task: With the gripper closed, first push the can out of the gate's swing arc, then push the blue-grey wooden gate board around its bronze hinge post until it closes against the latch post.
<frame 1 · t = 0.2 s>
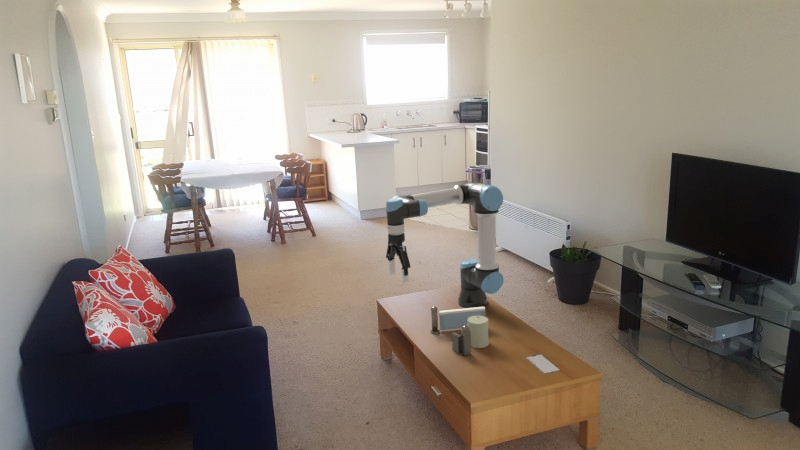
hand: (398, 277, 266), 28 cm above the table, fingers open, 13 cm apart
smartphone: (542, 365, 236), on the table
gate: (462, 318, 272), point 6 cm above the table, hinge at 70.0°
hinge post: (435, 332, 272), on the table
latch post: (466, 353, 249), on the table
can: (478, 343, 258), on the table
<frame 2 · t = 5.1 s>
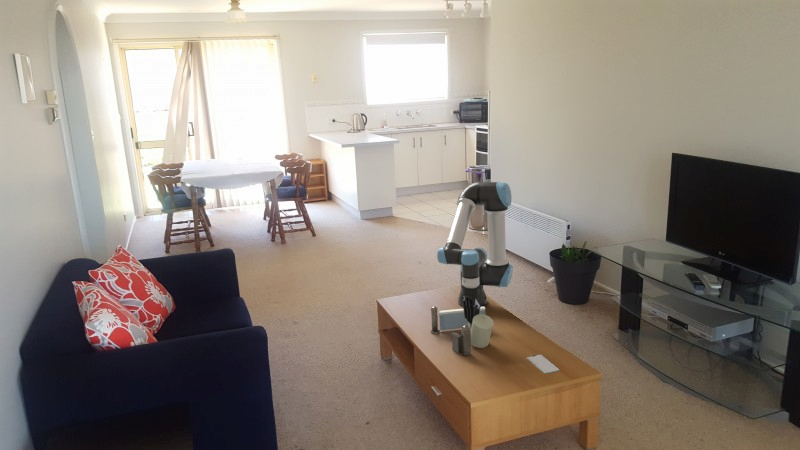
hand: (471, 335, 261), 2 cm above the table, fingers closed
can: (478, 340, 257), point 1 cm above the table, touching gripper, hand
everything else where it was.
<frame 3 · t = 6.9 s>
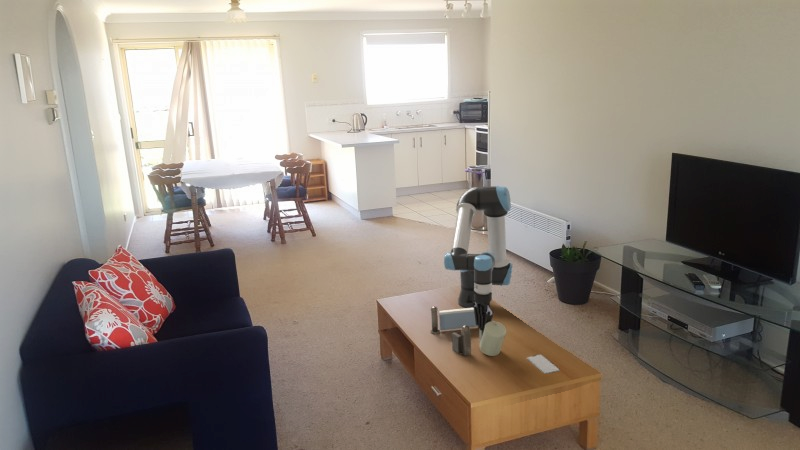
hand: (482, 342, 253), 3 cm above the table, fingers closed
can: (489, 348, 249), point 2 cm above the table, touching gripper, hand
everything else where it was.
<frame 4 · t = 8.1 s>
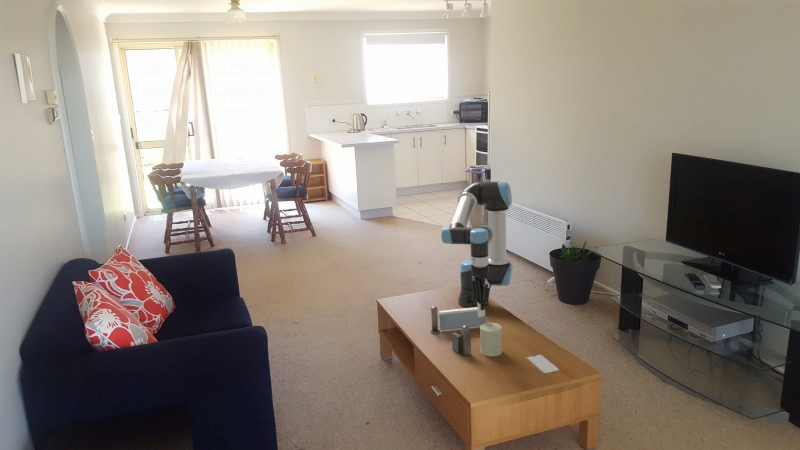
hand: (481, 315, 252), 14 cm above the table, fingers closed
can: (491, 352, 249), on the table
everything else where it was.
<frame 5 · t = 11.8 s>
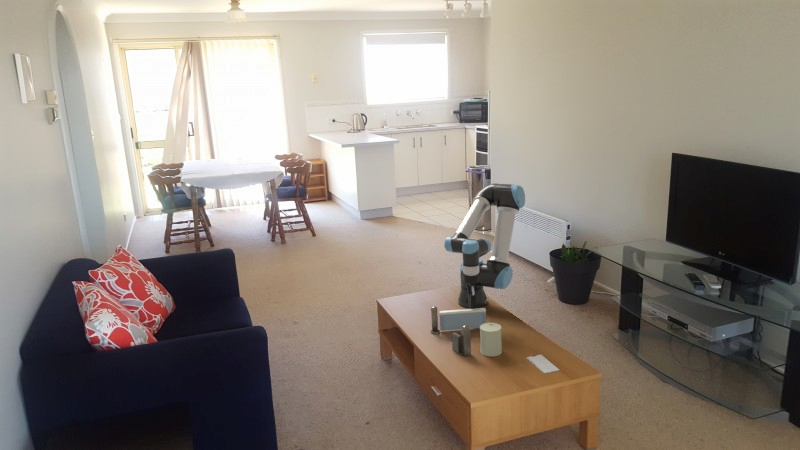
hand: (472, 320, 276), 3 cm above the table, fingers closed
gate: (462, 319, 271), point 6 cm above the table, hinge at 65.9°, touching gripper
everything else where it was.
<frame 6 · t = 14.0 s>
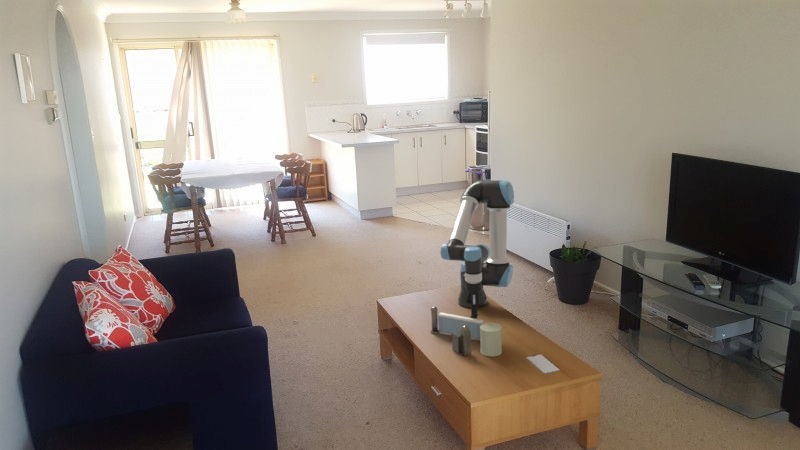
hand: (474, 329, 265), 3 cm above the table, fingers closed
gate: (460, 326, 263), point 6 cm above the table, hinge at 31.5°, touching gripper, hand
everything else where it was.
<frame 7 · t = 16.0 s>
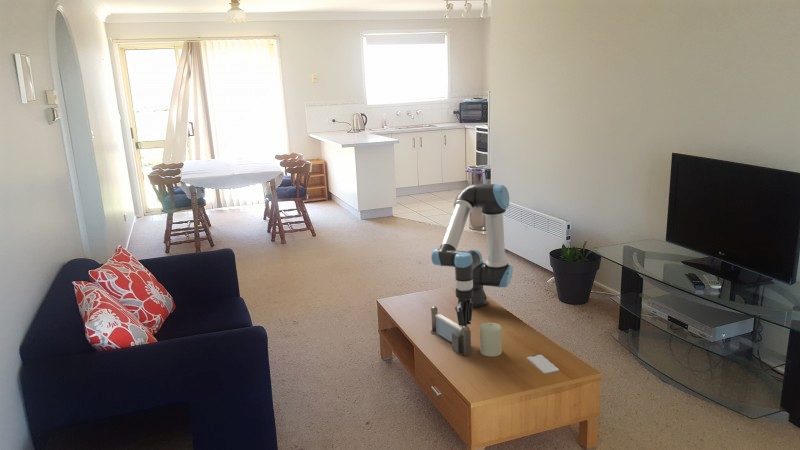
hand: (465, 338, 257), 3 cm above the table, fingers closed
gate: (450, 330, 259), point 6 cm above the table, hinge at 2.2°, touching gripper, hand
everything else where it was.
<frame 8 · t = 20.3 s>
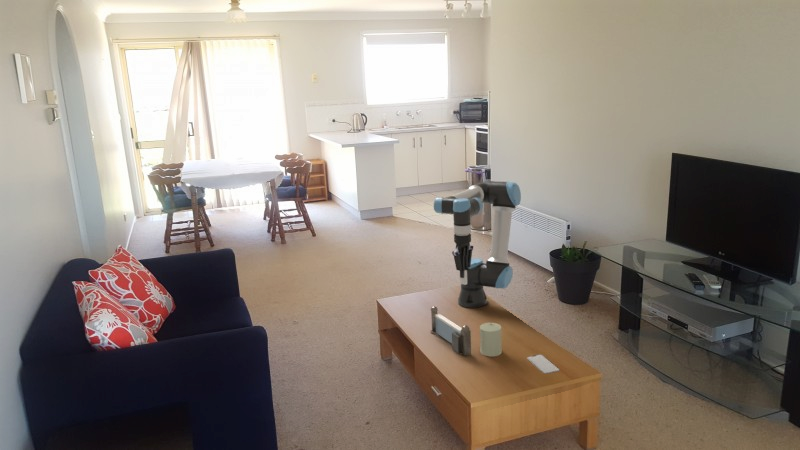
hand: (463, 283, 263), 24 cm above the table, fingers closed
gate: (449, 331, 259), point 6 cm above the table, hinge at -0.3°
everything else where it was.
at the end: gate at +0° (first picture: +70°); can moved 9.6 cm from its start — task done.
